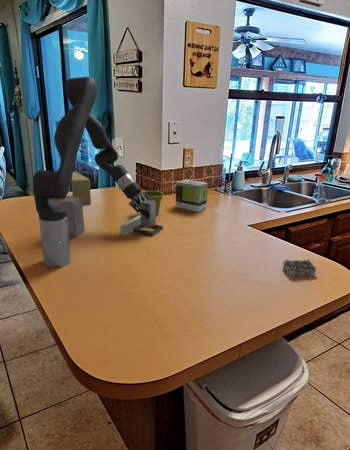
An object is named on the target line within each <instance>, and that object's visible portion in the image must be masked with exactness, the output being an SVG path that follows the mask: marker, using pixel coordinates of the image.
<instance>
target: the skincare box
mask: <svg viewBox="0 0 350 450" xmlns="http://www.w3.org/2000/svg"><path fill="white" fill-rule="evenodd" d="M59 205H61V206H63V207H65V208H66V211H67V222H68V235H69V237H71V238H74V237H75V238H78V237H79V236H80V235H81V234H84V232H85V221H84V210H83V209H84V208H83V205H82V198H78V197H73V196H68V197H65V198H64V199H60V201H59Z"/></svg>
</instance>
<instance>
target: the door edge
mask: <svg viewBox="0 0 350 450" xmlns="http://www.w3.org/2000/svg"><path fill="white" fill-rule="evenodd" d="M140 224H141V214H139V215H137V216H136V217H134V218H132V219H130V220H128V221H125V222H124V223H123V224H121V225H120V231H119V232H120V233H119V234H120V235H122V236H125V235H127V234H129V233H131V232H133V229H134V228H135V227H137V226H139V225H140Z"/></svg>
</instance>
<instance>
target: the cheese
mask: <svg viewBox="0 0 350 450" xmlns="http://www.w3.org/2000/svg"><path fill="white" fill-rule="evenodd" d="M71 193H72V197H78V198H82V206H89V205H91V204H92V196H91V182H90V179H89V178H88V177H86V176H84V175H82V174H80V173H79V172H78V171H73V174H72V179H71Z"/></svg>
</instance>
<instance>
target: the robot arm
mask: <svg viewBox="0 0 350 450" xmlns="http://www.w3.org/2000/svg"><path fill="white" fill-rule="evenodd" d="M64 92H65V95H66V98H67V101H69V103H70V105H71V107H72V108H71V109H69V110H68V111H67V112H66V113H65V114H64V115H63V116H61V117H62V118H60V120H59V122H58V123H57V126H56V129H55V132H54V136H53V137H54V138H53V141H54V146H55V148H56V150H57V153H58V156H59V161H60V164H59V167H58V169H57V171H54V170H53V171H52V170H38V171H36V172H35V173H34V175H33V177H32V192H33V198H34V203H35V209H36V212H37V214H38V219H39V221H38V222H39V228H40V229H39V231H40V239H41V247H42V249H41V250H42V258H43V263H44V267H50V268H51V267H52V268H53V267H54V268H56V267H57V268H58V267H59V268H60V267H61V268H62V267H64V266H65V265H67V264H69V263H70V262H71V250H70V249H71V248H70V239H69V238H70V236H69V235H68V222H67V211H66V208H65V207H63V206H61V205H60V203H58V202H57V201H55V200H63V199H65V198H67V196H68V194H69V191H70V189H71V185H72V182H71V179H72V174H73V172H74V168H75V163H76V159H77V155H78V153H79V149H80V146H81V143H82V140H83V136H84V133H85V130H86V132H87V134H88V137H89V139H90V142H91V144H92V146H93V148H95V150H101V151H99V152H98V153H96V154H95V155H94V161H95V162H94V163H95V164H96V165H97V166H98V167H99V168H100V169H102V170H103V171H104V172H106V174H108V175H110V177H111V178H112V179H113V180H114V181H115V183H116V185H117V186H118V188H119V190H121V192H122V193H123V195H124V196H126V198H127V199H128V200H130V202H129V203H128V205H129V206H130V207H131V208H132V209H133V210H134V211H135V212H136V213H137V214H139V213H140V214H141V213H142V214H143V215H144V216H145V218H146V219H148V218H149V217H150V215H149V213H148V212H147V211H146V210H145V208H144V207H143V204H142V201H144V200H151V199H150V197H149V195H148V194H147V193H146V194H143V193H141V192H142V188H141V186H140V185H139V184H138V182H137V181H136V180H135V178H133V176H132V175H131V174H130V173H129V172H128V171H127V169H126V168H125V166H123V164H117V165H114V166H113V165H112V164H114V163H115V162H117V161H118V159H119V153H118V151H117V150H116V149H115V148H114V146H113V144H111V141H110V140H109V138H108V136H107V132H106V130H105V128H104V126H103V125H102V123H101V122H100V121H99V120H98V119H97V118H96V117H95V116H94V115H93V114H92V113H91V112H92V109H93V107H94V105H95V103H96V100H97V97H98V85H97V82H96V80H95V79H94V78H93V77H91V76H79V77H72V78H71V77H70V78H67V79H66V80H65V83H64ZM141 207H142V208H141Z"/></svg>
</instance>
